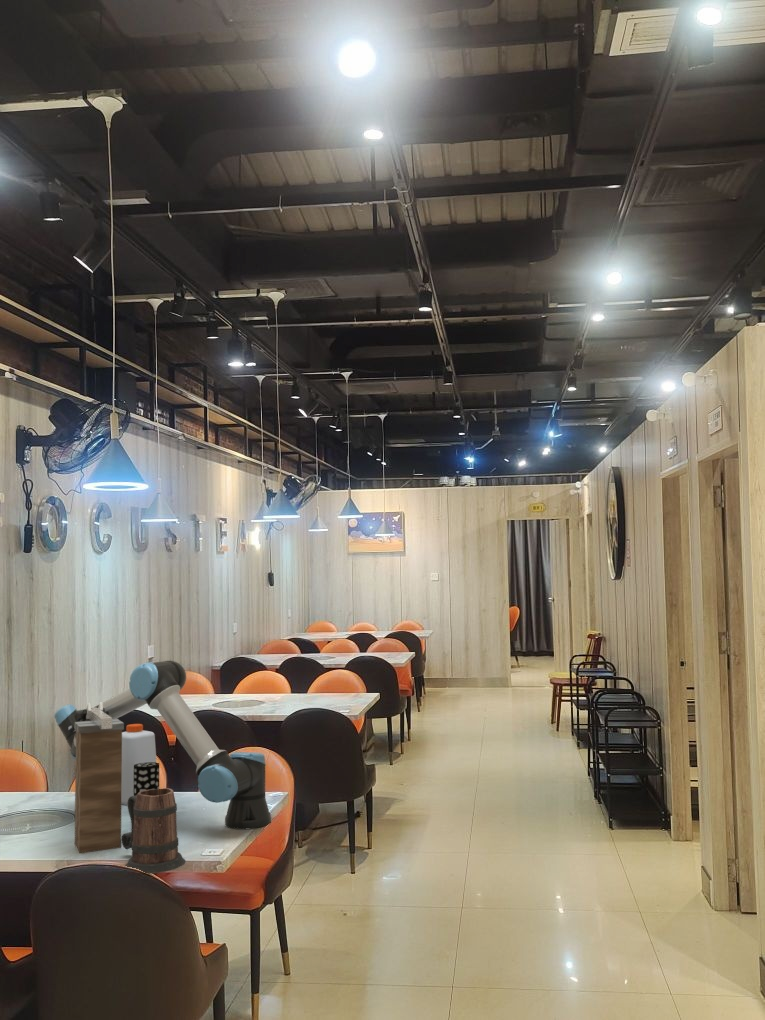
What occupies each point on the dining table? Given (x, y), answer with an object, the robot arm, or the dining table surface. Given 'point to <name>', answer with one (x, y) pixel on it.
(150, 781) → the white-spotted black cylinder
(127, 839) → the tankard
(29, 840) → the dining table surface
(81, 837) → the column
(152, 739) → the plastic bottle
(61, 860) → the dining table surface
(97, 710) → the bar
